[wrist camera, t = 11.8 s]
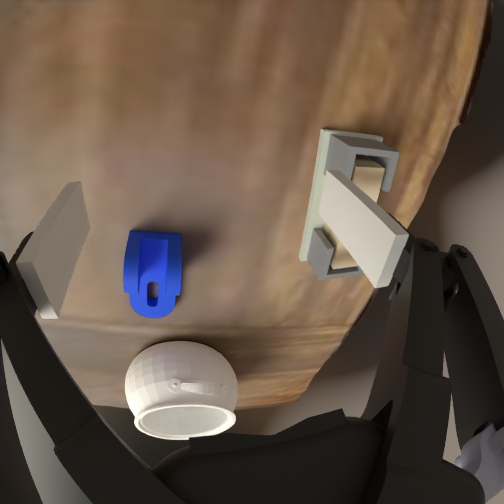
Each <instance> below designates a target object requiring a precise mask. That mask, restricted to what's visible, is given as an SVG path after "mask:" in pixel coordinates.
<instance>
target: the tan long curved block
mask: <svg viewBox="0 0 504 504" xmlns="http://www.w3.org/2000/svg"><path fill="white" fill-rule="evenodd" d="M384 170H385V168H384V167H382V166H381V165H379V164H378V163H376V162H375V161H373V160H372V159H370V158H369V157H367V156H366V155H361V154H356V157H355V162H354V167H353V172H352V176H351V181H352V182H353V183H354V184H355V185H356V186H358V187H359V188H360V189H361V190H362V191H363V192H364V193H366V194H367V195H368V196H369V197H370V198H371V199H372V200H373V201H375V202H376V203H377V199H378V195H379V191H380V187H381V183H382V179H383V175H384ZM323 234H324V235H325V236H326V238H327V239H328V241H329V242H330V243H331V245H332V246H333V247H334V250H333V254H332V258H331V261H330V265H331V267H332V268H333V269H339V268H347V267H354V266H358V264H357V262H356V261H355V260H354V258H353V257H352V256H351V254H350V253H349V252H348V250H347V249H346V248H345V246H344V245H343V244H342V242H341V241H340V240H339V239H338V237H337V236H336V235H335V233H334V232H333V231H332V230H331V228H330V227H329V226H328V224H327V223H326V222H325V225H324V230H323Z"/></svg>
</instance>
